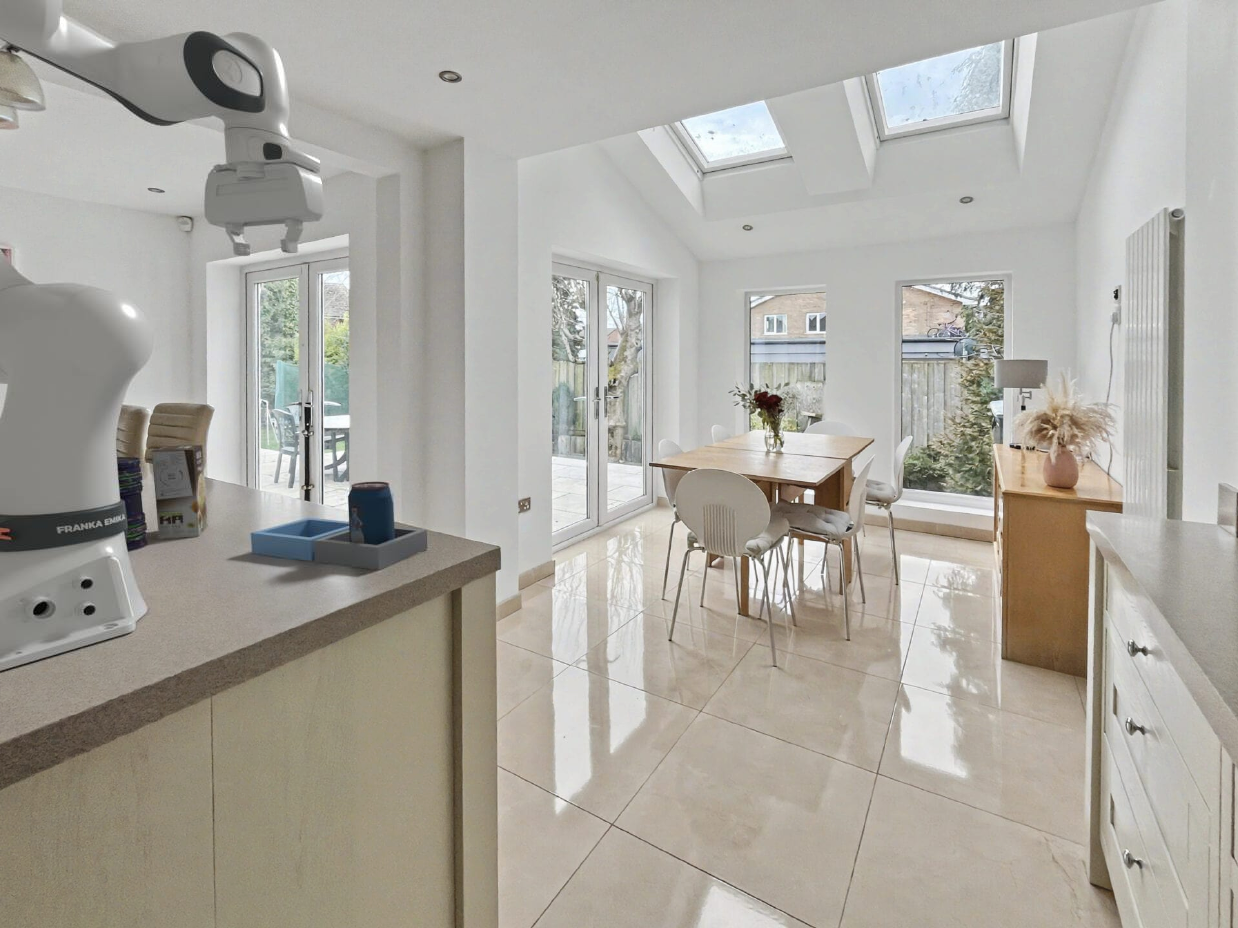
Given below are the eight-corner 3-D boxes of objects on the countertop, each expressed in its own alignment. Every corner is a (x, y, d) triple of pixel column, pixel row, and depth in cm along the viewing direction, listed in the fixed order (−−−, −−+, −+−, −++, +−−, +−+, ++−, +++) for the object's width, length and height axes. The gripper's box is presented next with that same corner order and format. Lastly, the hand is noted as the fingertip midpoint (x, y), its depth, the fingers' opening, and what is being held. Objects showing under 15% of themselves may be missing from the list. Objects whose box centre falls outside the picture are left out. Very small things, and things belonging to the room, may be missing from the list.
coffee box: (200, 536, 115) (193, 449, 112) (158, 540, 112) (150, 450, 110) (209, 525, 123) (202, 444, 121) (169, 528, 120) (162, 445, 118)
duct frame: (379, 569, 96) (378, 547, 96) (252, 553, 104) (250, 532, 104) (427, 549, 108) (426, 529, 108) (309, 536, 116) (308, 517, 116)
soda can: (398, 549, 108) (396, 480, 107) (390, 560, 101) (388, 487, 100) (356, 550, 107) (353, 481, 105) (345, 562, 100) (342, 488, 99)
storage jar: (62, 550, 104) (52, 461, 102) (130, 537, 113) (122, 455, 111) (91, 559, 100) (82, 466, 98) (160, 545, 108) (152, 459, 106)
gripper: (189, 159, 95) (196, 253, 97) (295, 145, 89) (301, 246, 91) (226, 172, 101) (232, 260, 103) (329, 160, 95) (333, 255, 97)
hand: (265, 254), depth 97 cm, fingers open, 8 cm apart
